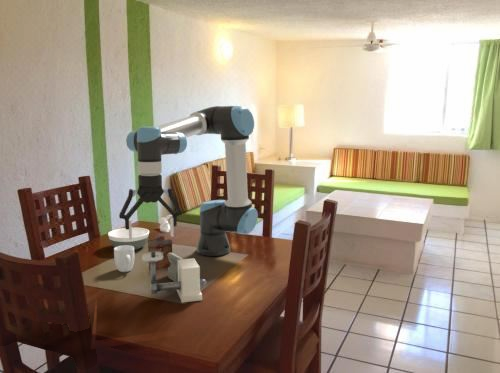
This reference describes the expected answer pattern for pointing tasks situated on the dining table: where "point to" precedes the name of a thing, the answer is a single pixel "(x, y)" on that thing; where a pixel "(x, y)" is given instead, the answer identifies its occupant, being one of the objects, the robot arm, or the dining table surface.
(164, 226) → the rabbit figurine
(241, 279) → the dining table surface
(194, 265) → the white upright block
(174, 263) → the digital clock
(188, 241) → the dining table surface
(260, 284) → the dining table surface
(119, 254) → the mug
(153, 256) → the l-shaped grey rod
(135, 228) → the bowl
